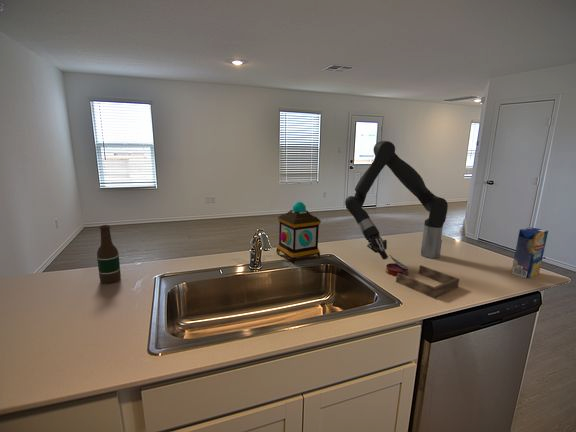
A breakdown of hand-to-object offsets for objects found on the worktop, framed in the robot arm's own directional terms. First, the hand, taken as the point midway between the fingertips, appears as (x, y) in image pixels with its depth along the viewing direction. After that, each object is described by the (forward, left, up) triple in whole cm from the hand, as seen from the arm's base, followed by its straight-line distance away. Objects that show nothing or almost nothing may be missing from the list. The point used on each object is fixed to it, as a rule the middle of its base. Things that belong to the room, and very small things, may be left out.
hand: (385, 258), depth 148 cm
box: (-4, +21, -5) cm, 22 cm away
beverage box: (-60, +31, -5) cm, 67 cm away
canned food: (-1, +7, -5) cm, 9 cm away
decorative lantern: (+33, -30, -5) cm, 45 cm away
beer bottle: (+121, -31, -5) cm, 125 cm away
